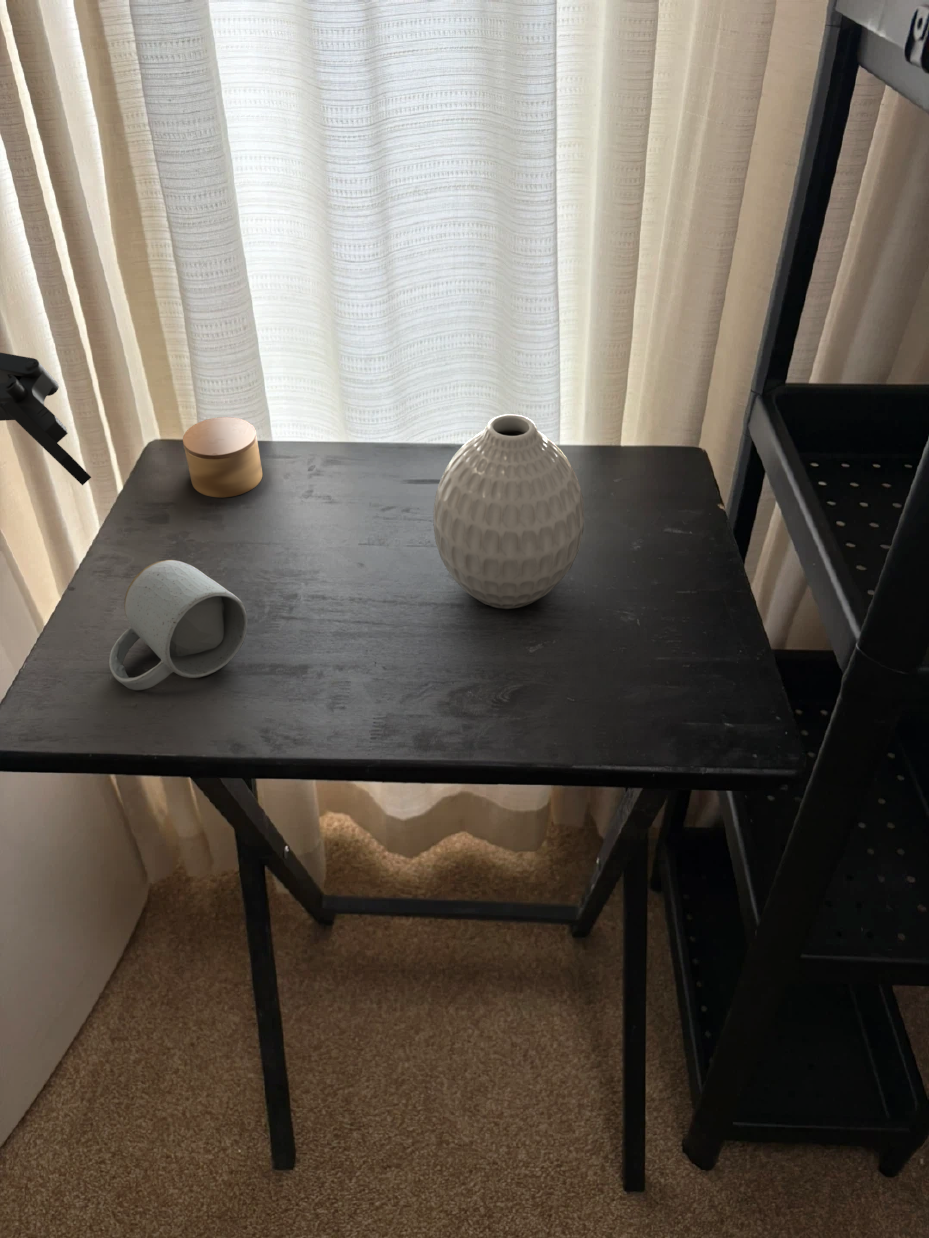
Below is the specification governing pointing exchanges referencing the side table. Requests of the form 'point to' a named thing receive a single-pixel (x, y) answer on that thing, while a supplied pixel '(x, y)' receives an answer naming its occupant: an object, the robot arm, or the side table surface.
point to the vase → (508, 514)
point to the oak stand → (223, 456)
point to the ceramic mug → (179, 623)
